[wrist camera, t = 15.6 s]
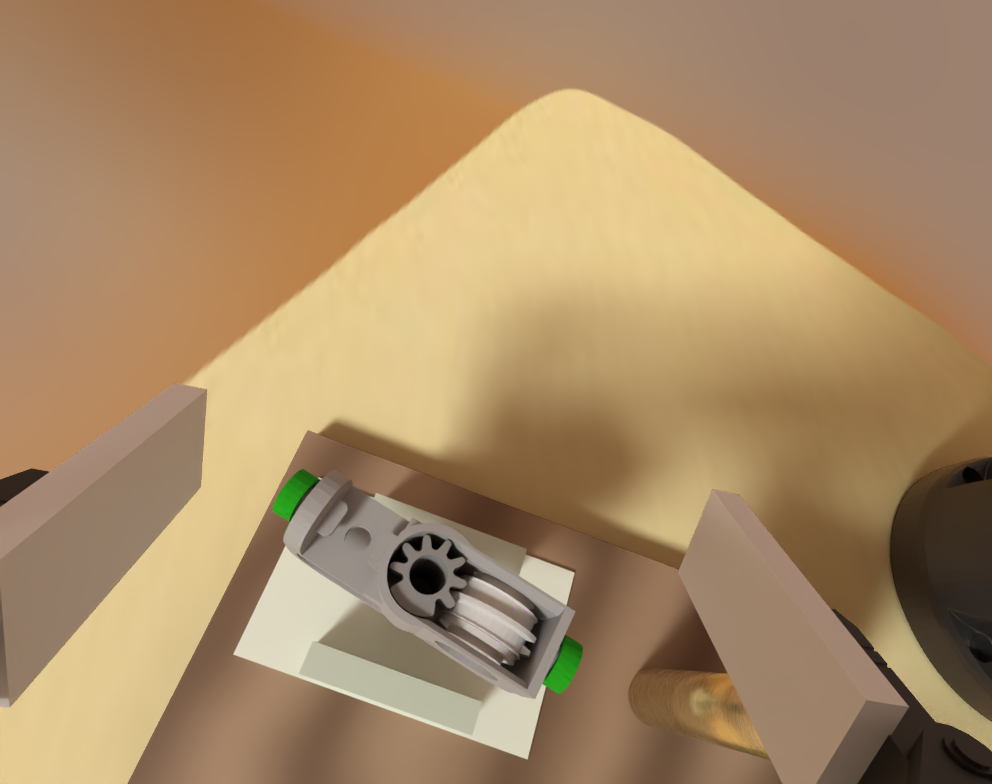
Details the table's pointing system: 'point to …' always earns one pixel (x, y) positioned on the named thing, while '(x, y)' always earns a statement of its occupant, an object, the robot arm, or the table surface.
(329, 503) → the mechanical component
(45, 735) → the table surface
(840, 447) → the table surface
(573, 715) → the board
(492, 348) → the table surface
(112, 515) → the robot arm
